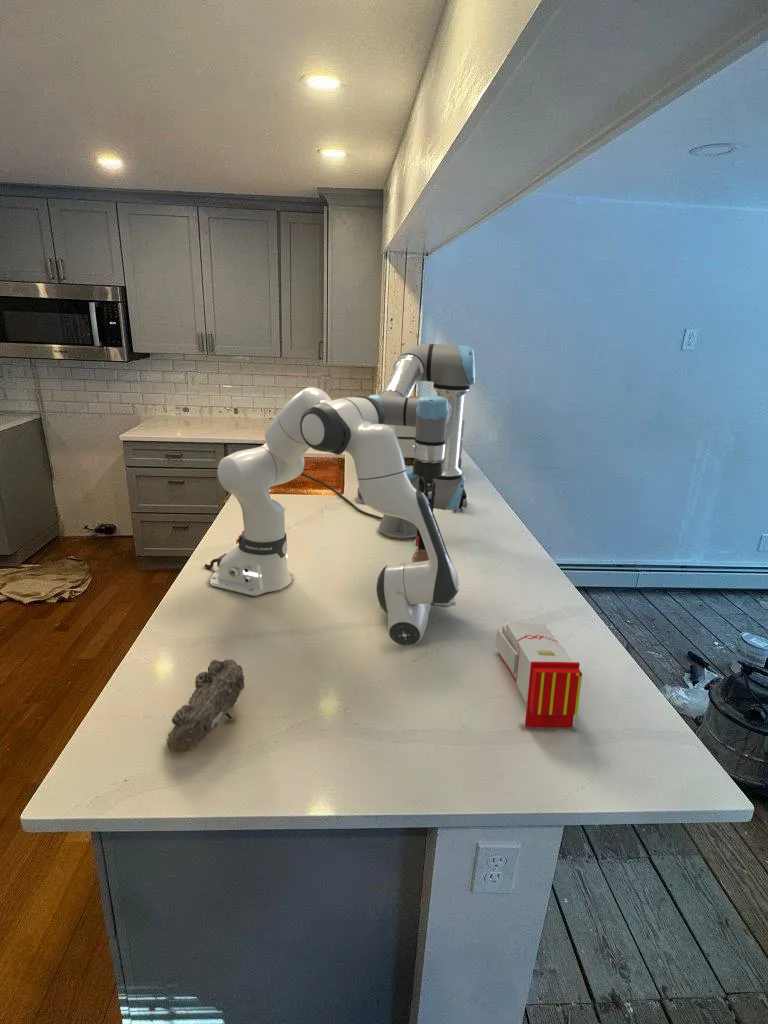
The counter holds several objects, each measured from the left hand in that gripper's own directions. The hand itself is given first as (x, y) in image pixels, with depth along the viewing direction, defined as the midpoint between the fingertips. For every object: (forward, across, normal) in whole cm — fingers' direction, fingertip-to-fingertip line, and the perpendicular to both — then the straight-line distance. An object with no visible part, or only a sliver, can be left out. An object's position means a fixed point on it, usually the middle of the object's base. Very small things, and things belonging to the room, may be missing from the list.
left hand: (420, 577), depth 154 cm
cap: (-1, 0, -12) cm, 12 cm away
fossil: (-57, +33, +6) cm, 66 cm away
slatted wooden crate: (+126, +15, +7) cm, 127 cm away
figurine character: (+80, -6, +7) cm, 81 cm away
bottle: (-1, 0, +6) cm, 7 cm away
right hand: (-1, 0, -10) cm, 10 cm away
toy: (-32, -28, +6) cm, 43 cm away
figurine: (+78, +31, +6) cm, 84 cm away
